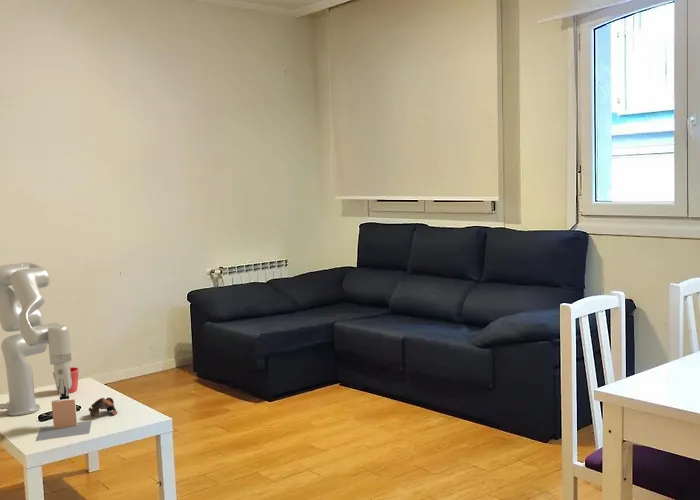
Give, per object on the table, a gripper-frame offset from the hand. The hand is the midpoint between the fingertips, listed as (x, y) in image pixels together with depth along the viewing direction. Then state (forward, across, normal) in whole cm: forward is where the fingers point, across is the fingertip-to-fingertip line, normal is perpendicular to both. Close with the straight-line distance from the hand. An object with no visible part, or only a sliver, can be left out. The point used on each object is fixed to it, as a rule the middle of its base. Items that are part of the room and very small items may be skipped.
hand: (65, 406), depth 279 cm
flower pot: (+7, +52, +4) cm, 53 cm away
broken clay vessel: (+8, +6, -14) cm, 17 cm away
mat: (+7, -8, 0) cm, 11 cm away
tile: (+7, -4, 0) cm, 8 cm away
